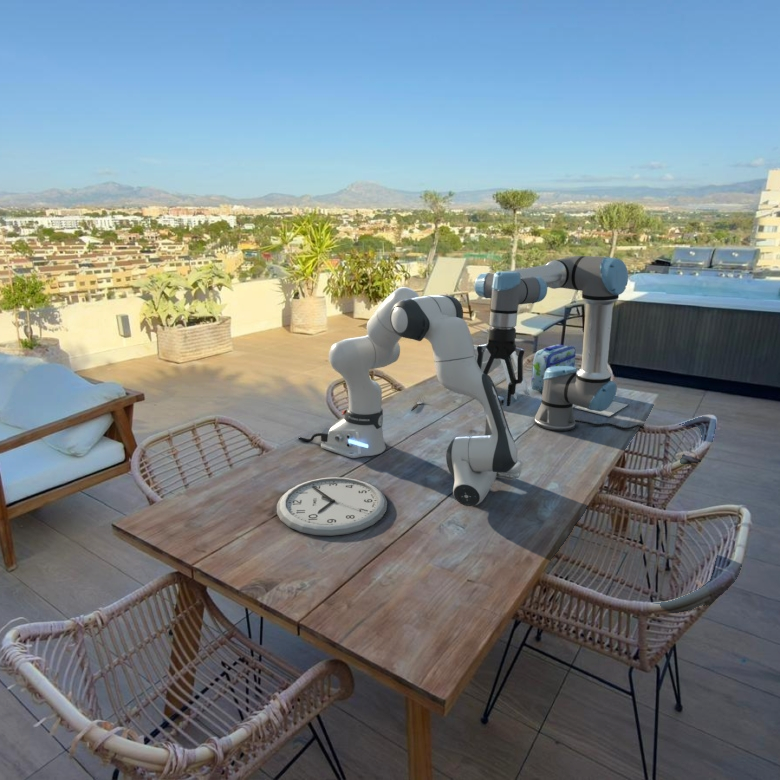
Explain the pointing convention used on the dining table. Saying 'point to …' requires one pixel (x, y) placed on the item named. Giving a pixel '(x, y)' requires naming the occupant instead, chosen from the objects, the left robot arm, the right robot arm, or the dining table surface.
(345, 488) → the wall clock
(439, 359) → the left robot arm
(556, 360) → the lunch box
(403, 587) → the dining table surface
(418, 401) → the fork
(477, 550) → the dining table surface
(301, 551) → the dining table surface
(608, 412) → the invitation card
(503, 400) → the cap
